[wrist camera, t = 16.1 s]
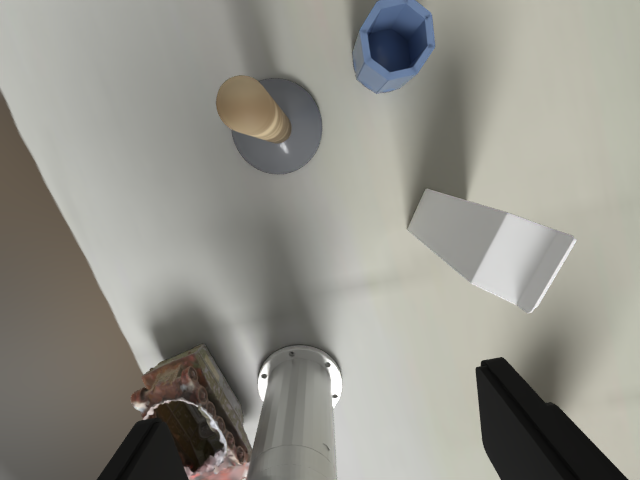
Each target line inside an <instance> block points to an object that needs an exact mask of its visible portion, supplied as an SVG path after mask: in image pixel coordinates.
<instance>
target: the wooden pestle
mask: <svg viewBox="0 0 640 480" xmlns="http://www.w3.org/2000/svg"><path fill="white" fill-rule="evenodd" d="M216 106H217V111H218V114H219V116H220V118H221V120H222V121H223V122H224V124H225V125H226V126H228V127H229V128H230V129H232V130H234V131H236V132H240V133H243V134H246V135H249V136H253V137H256V138H259V139H262V140H266V141H269V142H272V143H282V142H284V141H286V140H287V139H288V138H289V136H290V134H291V131H292V126H291V122H290V120H289V119H288V117H287V116H286V115H285V113H284V112H283V111H282V110H281V108H280V107H279V106H278V105H277V103H276V102H275V101H274V100H273V98H272V97H271V96H270V94H269V93H268V92H267V91H266V89H265V88H264V87H263V86H262V85H261V84H260V83H259V82H258V81H257V80H255V79H254V78H251V77H249V76H243V75H239V76H234V77H232V78H230V79H228V80H227V81H225V82H224V83H223V84H222V86H221V87H220V89H219V91H218V94H217V99H216Z"/></svg>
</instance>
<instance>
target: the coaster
mask: <svg viewBox="0 0 640 480" xmlns="http://www.w3.org/2000/svg"><path fill="white" fill-rule="evenodd" d="M259 83H260V84H261V85H262V86H263V87H264V88H265V89H266V91H267V92H268V93H269V94H270V96H271V97H272V98H273V100H274V101H275V102H276V103H277V105H278V106H279V107H280V108H281V110H282V111H283V112H284V113H285V115H286V116H287V117H288V119H289V120H290V122H291V126H292V131H291V134H290V136H289V138H288V139H287V140H286V141H284V142H282V143H272V142H269V141H266V140H262V139H259V138H256V137H253V136H249V135H246V134H243V133H240V132H236V131H234V130H232V136H233V139H234V143H235V145H236V147H237V149H238V151H239V152H240V154H241V155H242V157H243V158H244V159H245V160H246V161H247V162H248V163H249V164H251V165H252V166H253V167H255V168H257V169H258V170H261V171H263V172H266V173H271V174H285V173H290V172H293V171H295V170H298V169H299V168H301V167H303V166H304V165H305V164H306V163H308V162H309V161H310V160H311V158H312V157H313V156H314V154H315V153H316V151H317V149H318V146H319V144H320V140H321V135H322V120H321V115H320V112H319V109H318V107H317V105H316V103H315V101H314V100H313V98H312V97H311V95H310V94H309V93H308V92H307V91H306V90H305V89H303V88H302V87H301V86H299V85H298V84H296V83H294V82H291V81H289V80H285V79H279V78H271V79H265V80H262V81H259Z"/></svg>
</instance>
